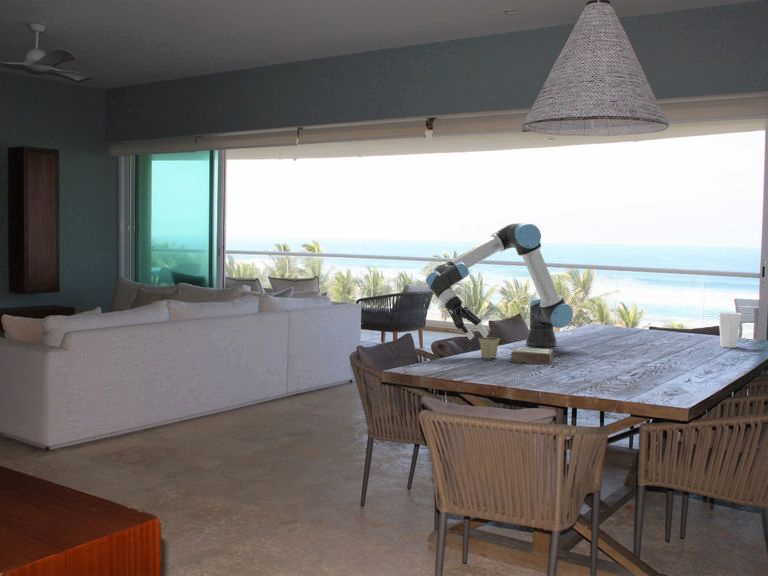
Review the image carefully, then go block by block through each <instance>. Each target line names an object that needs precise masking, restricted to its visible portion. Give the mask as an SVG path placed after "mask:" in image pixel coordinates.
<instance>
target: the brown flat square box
mask: <svg viewBox="0 0 768 576" xmlns="http://www.w3.org/2000/svg"><path fill="white" fill-rule="evenodd" d="M510 357H511V359H510V362H511V361H513V362H512V363H523V362H526V363H528V364H541V365H542V364H543V365H545V364H546V365H550V364H551V363H552V361H553V359H554V349H550V348H539V347H538V348H537V347H536V348H533V347H516V348H515V349H514V350H512V352H511V356H510Z"/></svg>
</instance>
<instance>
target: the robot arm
mask: <svg viewBox="0 0 768 576" xmlns="http://www.w3.org/2000/svg"><path fill="white" fill-rule="evenodd" d="M541 239H542V233H541V231H540V229H539V227H537V226H536V225H535V224H533V223H530V222H521V223H518V222H517V223H511V224H508V225H506V226H504V227H502V228H501V229H499V230H497V231H496V232H494V233H492V234H491V236H490V237H489V238H488V239H486V240H485V241H482V242H481V243H478V244H477V245H476V246H474V247H472V248H470V249H469V250H467V251H465V252H463V253H461V254H459V255H458V256H455V258H452V259H451V260H448V261H447V262H446V263H443V264H439V265H437V266H435V268H433V269H434V270H433V271H432V272H430V273H429V274H428V275H427V276H426V278H425V283H426V285H427V286H428V287H429V289H430V290H431V292H432V293H433V294H434V295H435V296H436V298H437V299H438V300H439V301H440V303H441V304H442V305H443V306H444V308H445V309H446V311H447V312H448V314H449V315H450V317H451V319H452V321H453V324H454V326H455V327H456V328H457V330H461V331H462V332H463V333H464V335H465V336H466V337H467V339H469V341H471V340H472V339H473V338H474V337H475V334H473V332H472V331H471V330H470V328H469V327H468V326H467V325H466V324H465V323H464V320H465V319H466V320H467V321H469V322H470V323H472V324H473V325H474V326H475V328H476V329H477V330H478V332H479V333H480V334H481V336H482V338H485V337H487V336H488V335H489V334H490V332H488V330H487V329H486V327H484V326H483V323H482V319H481V318H479V317H478V316H477V315H476V314H475V313H474V312H472V311H471V310H470V309H469V308H468V307H467V306H464V307H463V306H462V305H463V301H462V300H461V298H460V297H459V296H458V295H457V294H456V292H455V291H454V290H453V288H452V287H453V286H454V285H456V284H457V283H459V282H461V281H462V280H464V279H465V278H467V277H469V275H470V272H469V269H470V268H472V267H473V266H475V265H477V264H479V263H481V262H482V261H484V260H485V259H487V258H490V257H491V256H492V255H494V254H496V253H497V252H500V253H502V252H504V251H505V250H509V249H514V248H515V250H516V252H517V253H516V254H517V255H518V256H519V257H522V259H523V261H524V264H525V265H526V268H527V270H528V273H529V275H530V277H531V280H532V282H533V284H534V287H535V289H536V292H537V294H538V296H539V299H538V298H537V299H532V300H531V301H530V305H529V330H528V334H527V336H526V339H525V345H526V344H527V345H526V346H529V345H531V346H530V347H536V346H539V347H538V348H551V347H552V346H553V347H557V346H556V345H558V344H557V343H558V342H557V338H556V335H555V330H554V328H558V329H559V328H562V329H563V328H565V327H568V326H569V325H570V324H571V322H572V320H573V318H574V311H573V309H572V307H571V306H570V305H569V304H567V303H566V302H565V299H564V297H563V296H562V295H560V294H559V293H558V290H557V288H556V286H555V284H554V281H553V279H552V277H551V274H550V272H549V270H548V267H547V264H546V262H545V260H544V257H543V255H542V253H541V248H542V243H541Z"/></svg>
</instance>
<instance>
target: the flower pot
mask: <svg viewBox="0 0 768 576" xmlns="http://www.w3.org/2000/svg"><path fill="white" fill-rule="evenodd" d="M477 339H478V340H479V345H480V352H481V353H480V354H481V358H482V359H486V358H488V359H489V358H490V359H491V358H493V359H496V358H497V353H498V346H499V342H500V340H501V338H499V337H487V336H486V337H479V338H477ZM488 359H487V360H488ZM490 359H489V360H490ZM491 360H492V359H491Z"/></svg>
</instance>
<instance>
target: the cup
mask: <svg viewBox="0 0 768 576" xmlns="http://www.w3.org/2000/svg"><path fill="white" fill-rule="evenodd" d="M717 314H718V325H719V338H720V339H719V340H720V347H721V348H737V343H738V337H739V331H740V324H741V317H742V313H740V312H728V311H727V312H726V311H724V312H723V311H721V312H718V313H717Z"/></svg>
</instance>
